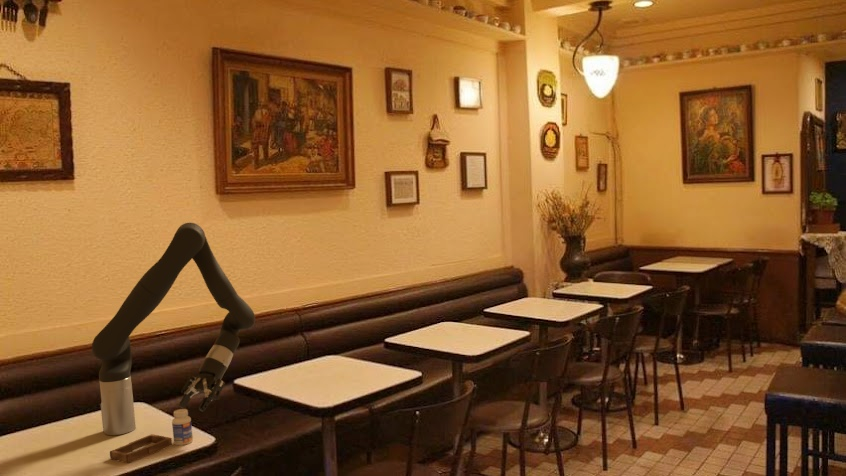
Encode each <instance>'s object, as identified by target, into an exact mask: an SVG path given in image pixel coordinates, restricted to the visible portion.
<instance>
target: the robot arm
mask: <svg viewBox="0 0 846 476" xmlns="http://www.w3.org/2000/svg"><path fill="white" fill-rule="evenodd" d="M191 260H193V261H194V263H195V265H196V266H197V268H198V270H199V272H200V274H201V276H202V278H203V280H204V283H205V285H206V287H207V289H208V291H209V293H210V294H211V296H212V297H213V299H214V301H215V302H216V304H217V305H218V307H220V308H221V309H224V310H227V311H228V313H227V314H226V315H225V317H224V318H223V321H222V324H221V328H220V331H219V335H218V336H217V338H216V340H215V342H214V344H213V345H212V347H211V348H210V350H209V351H208V353H207V354H206V356H205V358H204V360H203V362H202V363H201V365H200V367H199V370H198V372H199V373H198V375H197V376H196V377H195V376H193V374H191V375H190V376H189V377H188V378H187V380H186V382H185V384H184V385H183V387H182V388H181V390H180V392H181V393H182V394H183V396H182V399H181V400H180V402H179V405H178V406H179V408H180V409H187V406H188V404H189V403H190V401H191V399H192V398H193V396H195V395H198V394H199V393H204V397H203V398H202V400H201V401H200V402H201V403H200V404H199V406H198V407H197V408H198V410H199V411H200V412H205V411H206V410H207V408H208V406H210V403H211V402H212V401H213V400H215V401H216V400H218V399H219V397H220V395H221V393H222V391H223V389H224V386H225V384H226V382H225V381H223V380H222V379H223V376H224V374H225V373H226V371H227V370H228V368H229V365H230V364H231V362H232V359H233V357H234V354H235V353H236V351H237V349H238V347H239V344H240V342H241V340H240V338H239V336H238V335H239V333H240V331H244V330H250V329H251V328H252V327H254V325H255V322H256V315H255V313H254V310H253V308H251V307H250V305H249V304H248V303H247V302H246V301H245V300H244V299H243V298H242V297H241V296H240V295H239V294H238V292H237V291H236V290H235V287H234V286H233V285H232V283H231V281H230V280H229V278H228V277H227V274H226V273H225V272H224V270H223V269H222V267H221V266H220V264H219V262H218V260H217V259H216V257H215V255H214V253H213V251H212V249H211V246H210V244H209V241H208V239H207V236H206V234H205V231H204V229H203V228H202V227H201V226H200V225H199V224H197V223H195V222H185V223H183V224H181V225H180V226H179V227H178V228H177V230H176V231H175V233H174V236H172V239H171V241H170V243H169V245H168V246H167V248H166V250H165V251H164V253H163V254H162V256H161V257H160V258H159V259H158V260H157V261H156V262H155V263H154V264H153V265H152V266H151V267H150V268H149V269H148V270H147V271H145V273H144V274H143V275H142V276H141V277H140V279H139V280H138V281H137V283H136V284H135V286H134V287H133V288H132V290H131V291H130V292H129V294H128V295H127V297H126V298H125V300H124V301H123V303H122V304H121V306H120V307H119V309H118V311H117V312H116V313H115V315H114V316H113V317H112V319H110V320H109V321H108V323H107V324H106V325H105V326H104V327H103V329H101V330H100V331H99V333H98V334H97V335H95V337H94V338H93V341H92V344H91V351H92V354H93V356H94V357H95V358H96V359H97V360H100V361H102V362H101V363H102V364H101V366H100V369H99V372H98V378H99V380H98V381H99V388H100V389H99V391H100V399H101V403H100V412H101V421H102V423H101V424H102V431H103V433H104V434H105V435H106V436H118V435H124V434H128V433H130V432H133V431H134V430H135V429H136V428H137V427H136V417H135V404H134V396H133V385H132V376H131V370H132V363H133V362H132V348H131V347H132V345H131V338H130V336H131V334H132V333H133V332H134V331H135V330H136V328H137V327H138V326H139V325H141V323H142V322H144V320H145V319H146V318H148V317H149V316H150V315H151V314H152V313H153V312H154V311H155V309H156V308H157V307H158V306H159V305H160V303H161V302H162V300H164V298H165V297H166V295H167V294H168V293H169V291H170V290H171V288H172V286H173V285H174V283H175V282H176V280H177V278H178V276H179V275H180V273H181V272H182V270H183V269H184V268H185V267H186V266H187V264H189V263H190V261H191Z"/></svg>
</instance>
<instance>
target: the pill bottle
mask: <svg viewBox="0 0 846 476" xmlns="http://www.w3.org/2000/svg"><path fill="white" fill-rule="evenodd" d="M173 417H174V418H173V419H172V421H171V424H172V435H173V443H174V445H176V446H185V445H188V444H190V443H192V442H193V439H194V438H193V429H192V428H193V426H192V418H191V417H190V416H189V410H188V409H187V408H185V409H183V408H180V409H176V410H173Z"/></svg>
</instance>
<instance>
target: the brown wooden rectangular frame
mask: <svg viewBox="0 0 846 476" xmlns="http://www.w3.org/2000/svg"><path fill="white" fill-rule="evenodd" d="M172 440H173V438H172V437H168V436H164V435H163V436H162V435H159V434H152V433H151V434H149V435H146V436H143V437H142V438H138V439H136V440H134V441H131V442H129V443H127V444H125V445H122V446H120V447H117V448H115V449H112V450H110V451H109V458H110V460H113V459H114V460H113V461H117V460H119V461H118V462H121V461H123V463H126V462H127V463H126V464H130V463H132V462H135V461H137V460H139V459H143V458H144V457H147V456H150V455H152V454H154V453H157V452H159V451H162V450H164V449H166V448H168V447H171V446H172V445H173V441H172ZM129 462H130V463H129Z"/></svg>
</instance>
